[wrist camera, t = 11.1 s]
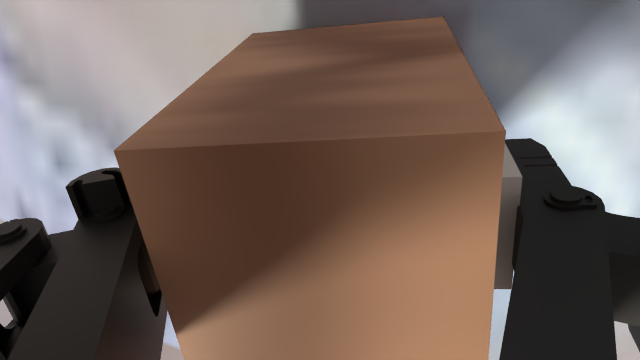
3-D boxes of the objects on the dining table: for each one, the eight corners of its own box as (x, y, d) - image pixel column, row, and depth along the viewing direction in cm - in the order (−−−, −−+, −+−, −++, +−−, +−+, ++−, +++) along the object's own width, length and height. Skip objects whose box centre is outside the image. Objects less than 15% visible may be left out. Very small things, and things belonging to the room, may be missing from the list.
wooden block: (443, 16, 15) (506, 130, 7) (441, 188, 17) (484, 411, 10) (252, 33, 16) (113, 150, 8) (279, 194, 18) (197, 399, 10)
